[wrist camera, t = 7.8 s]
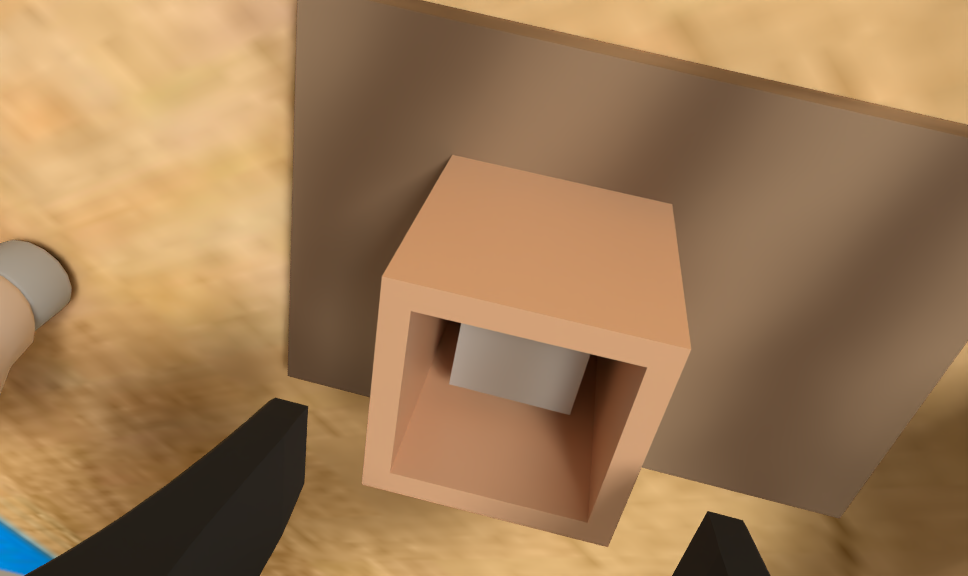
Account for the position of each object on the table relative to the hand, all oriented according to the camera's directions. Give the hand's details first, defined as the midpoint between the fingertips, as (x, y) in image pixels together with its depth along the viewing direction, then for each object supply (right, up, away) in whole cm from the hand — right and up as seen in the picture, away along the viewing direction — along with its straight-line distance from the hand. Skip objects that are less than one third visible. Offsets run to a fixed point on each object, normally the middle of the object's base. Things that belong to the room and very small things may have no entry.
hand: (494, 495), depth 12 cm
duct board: (+3, +4, +7) cm, 9 cm away
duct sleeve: (+1, +4, +6) cm, 8 cm away
